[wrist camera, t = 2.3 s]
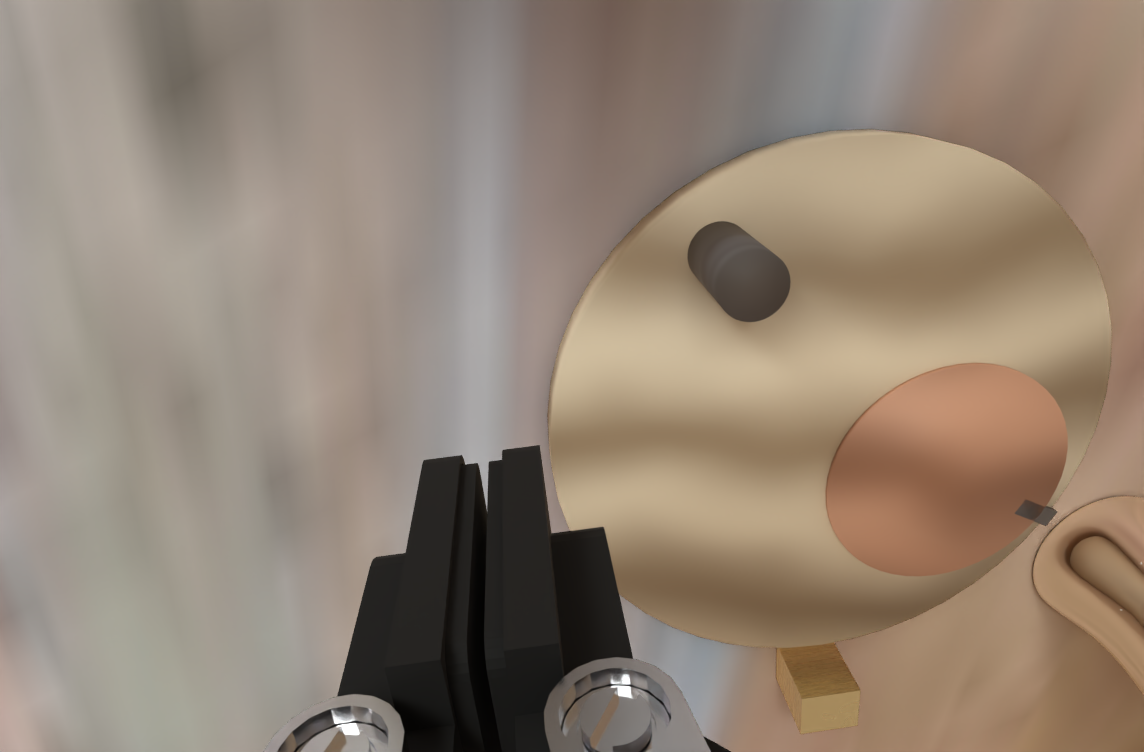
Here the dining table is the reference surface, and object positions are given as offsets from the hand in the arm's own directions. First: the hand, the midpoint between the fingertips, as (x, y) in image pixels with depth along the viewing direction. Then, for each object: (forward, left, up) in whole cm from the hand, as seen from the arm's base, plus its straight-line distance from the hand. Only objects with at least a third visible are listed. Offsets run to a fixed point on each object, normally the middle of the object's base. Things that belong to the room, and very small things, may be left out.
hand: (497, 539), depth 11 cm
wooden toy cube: (+20, +11, -15) cm, 27 cm away
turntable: (+7, +11, -15) cm, 20 cm away
